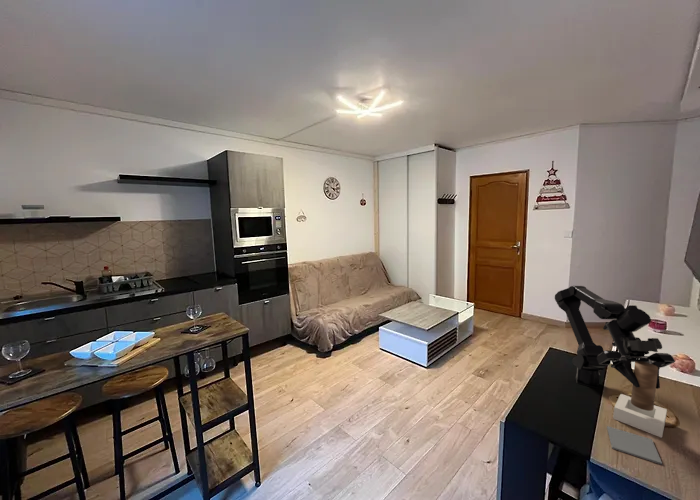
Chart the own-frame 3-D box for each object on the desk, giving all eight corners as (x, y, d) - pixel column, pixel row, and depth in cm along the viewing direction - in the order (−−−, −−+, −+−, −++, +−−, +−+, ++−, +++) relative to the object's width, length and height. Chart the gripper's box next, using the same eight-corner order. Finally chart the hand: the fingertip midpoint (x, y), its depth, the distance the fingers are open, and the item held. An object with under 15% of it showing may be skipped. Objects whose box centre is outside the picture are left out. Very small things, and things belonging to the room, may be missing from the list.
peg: (633, 407, 91) (637, 366, 90) (629, 398, 95) (633, 359, 94) (655, 412, 89) (660, 371, 87) (650, 403, 93) (655, 363, 91)
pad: (612, 448, 85) (612, 446, 84) (606, 427, 93) (607, 425, 93) (661, 464, 79) (662, 463, 79) (651, 440, 87) (651, 439, 87)
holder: (612, 418, 97) (614, 407, 96) (619, 404, 104) (620, 393, 103) (661, 437, 88) (663, 425, 88) (665, 421, 95) (667, 409, 95)
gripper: (606, 326, 94) (630, 378, 85) (673, 328, 92) (706, 382, 82) (587, 339, 103) (607, 388, 93) (648, 342, 101) (675, 392, 91)
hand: (648, 387), depth 90 cm, fingers closed on peg, 5 cm apart
